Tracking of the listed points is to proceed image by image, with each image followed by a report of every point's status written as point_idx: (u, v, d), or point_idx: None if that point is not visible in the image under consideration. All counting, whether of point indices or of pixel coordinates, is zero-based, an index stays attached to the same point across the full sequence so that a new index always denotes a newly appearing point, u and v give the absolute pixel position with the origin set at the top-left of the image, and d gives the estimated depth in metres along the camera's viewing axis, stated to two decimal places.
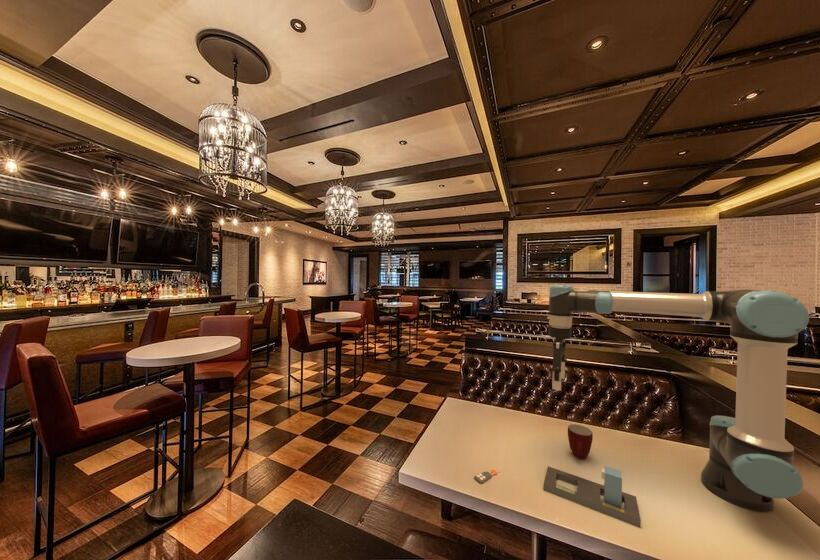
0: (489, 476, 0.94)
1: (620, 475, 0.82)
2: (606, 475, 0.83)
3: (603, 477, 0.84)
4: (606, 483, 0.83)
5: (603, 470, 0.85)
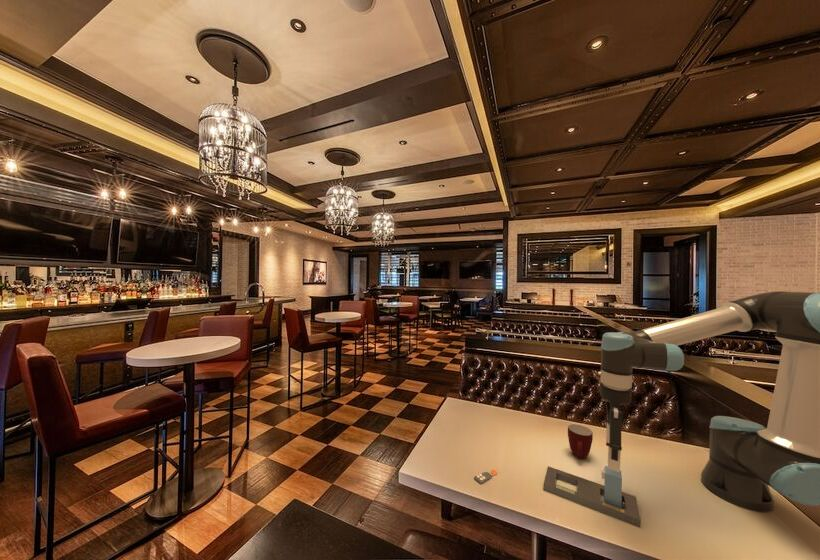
0: (489, 476, 0.94)
1: (620, 475, 0.82)
2: (606, 475, 0.83)
3: (603, 477, 0.84)
4: (606, 483, 0.83)
5: (603, 470, 0.85)
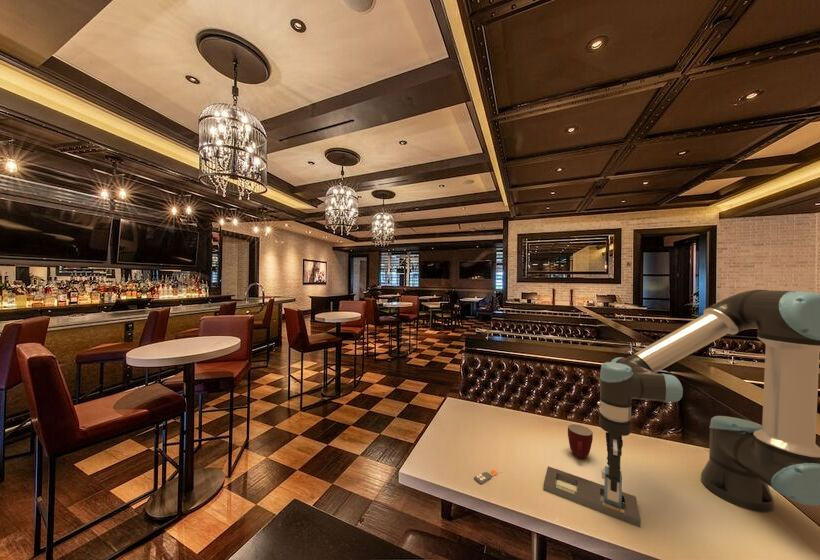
0: (489, 477, 0.94)
1: (620, 475, 0.82)
2: None
3: (603, 477, 0.84)
4: (606, 483, 0.83)
5: (603, 470, 0.85)
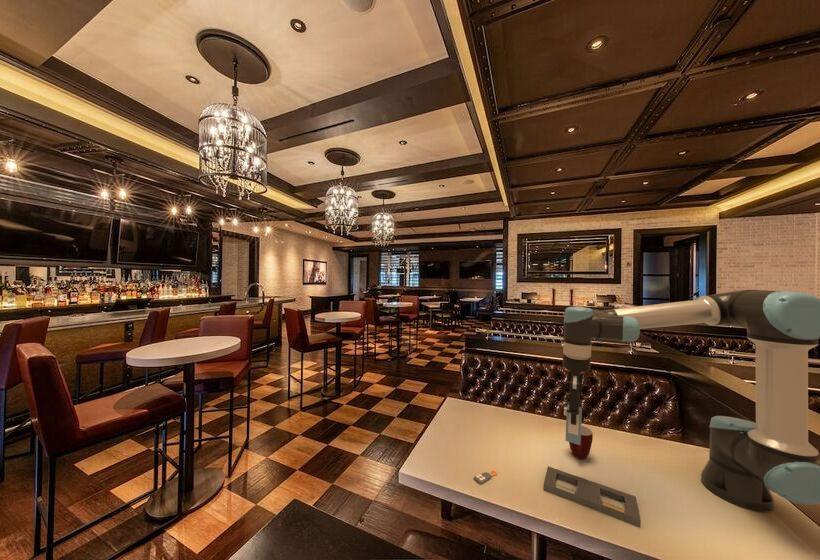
0: (489, 477, 0.94)
1: (580, 410, 0.88)
2: None
3: (565, 414, 0.90)
4: (567, 418, 0.88)
5: (565, 408, 0.90)
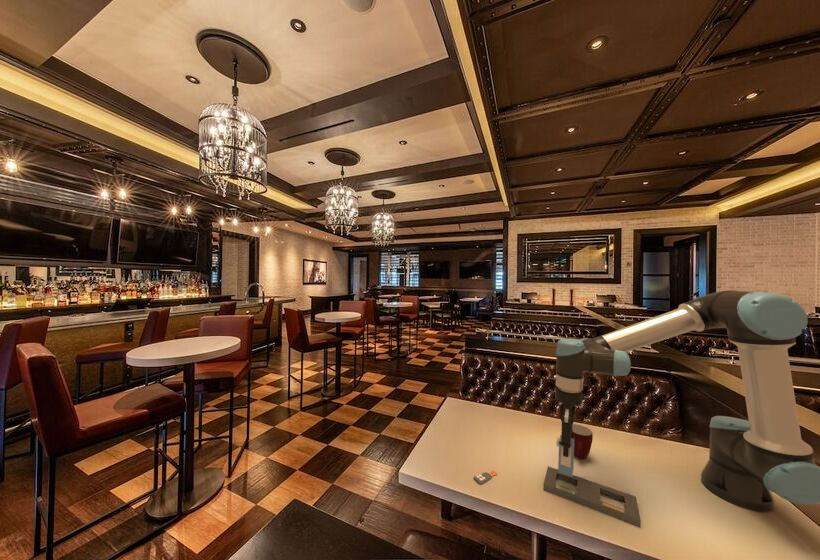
0: (489, 477, 0.94)
1: (572, 442, 0.89)
2: None
3: (558, 445, 0.91)
4: (560, 450, 0.90)
5: (558, 438, 0.92)
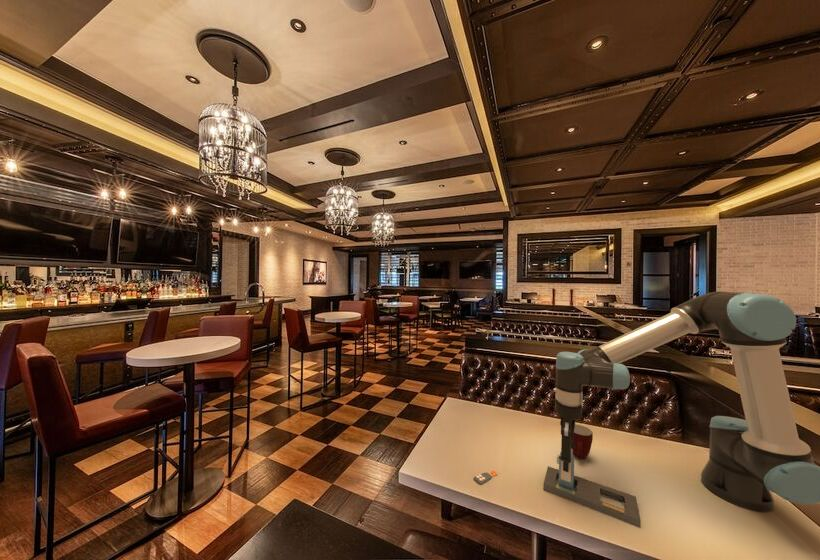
0: (489, 477, 0.94)
1: (572, 460, 0.89)
2: (560, 460, 0.90)
3: (558, 462, 0.91)
4: (560, 467, 0.90)
5: (558, 456, 0.92)
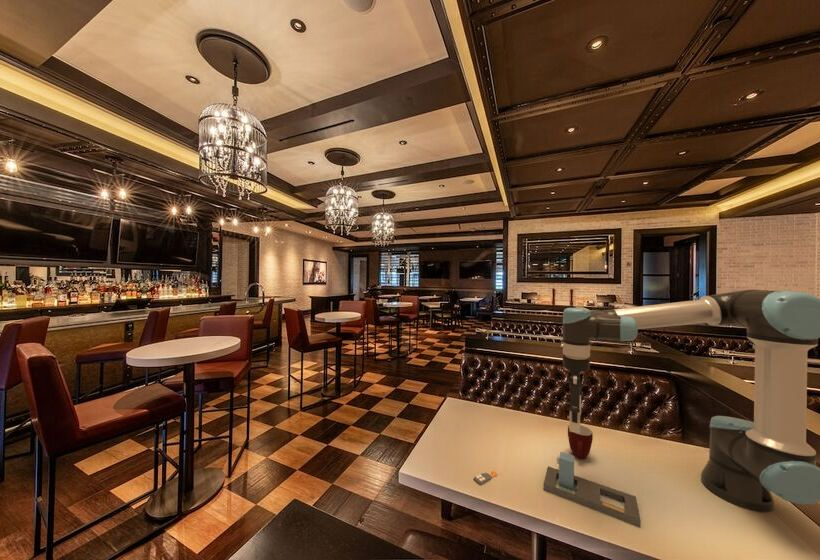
0: (489, 477, 0.94)
1: (572, 460, 0.89)
2: (560, 460, 0.90)
3: (558, 462, 0.91)
4: (560, 467, 0.90)
5: (558, 456, 0.92)
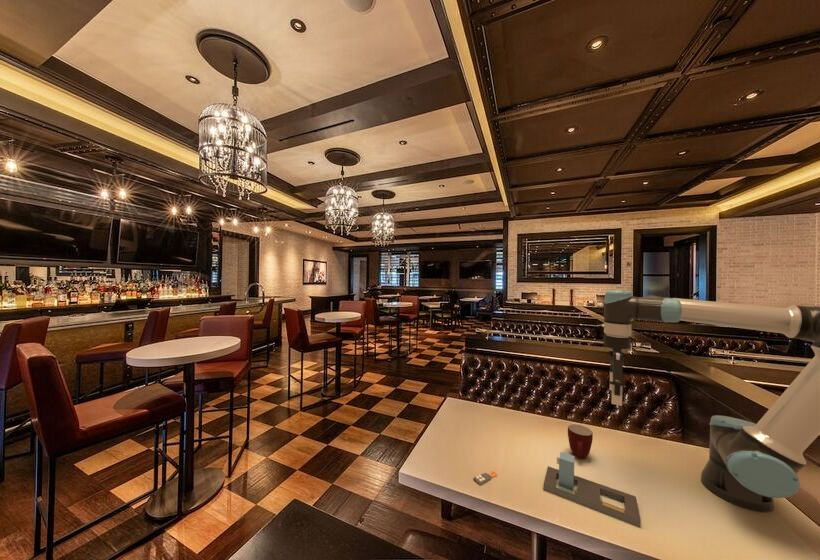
0: (489, 478, 0.94)
1: (572, 460, 0.89)
2: (560, 460, 0.90)
3: (558, 462, 0.91)
4: (560, 467, 0.90)
5: (558, 456, 0.92)
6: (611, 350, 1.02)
